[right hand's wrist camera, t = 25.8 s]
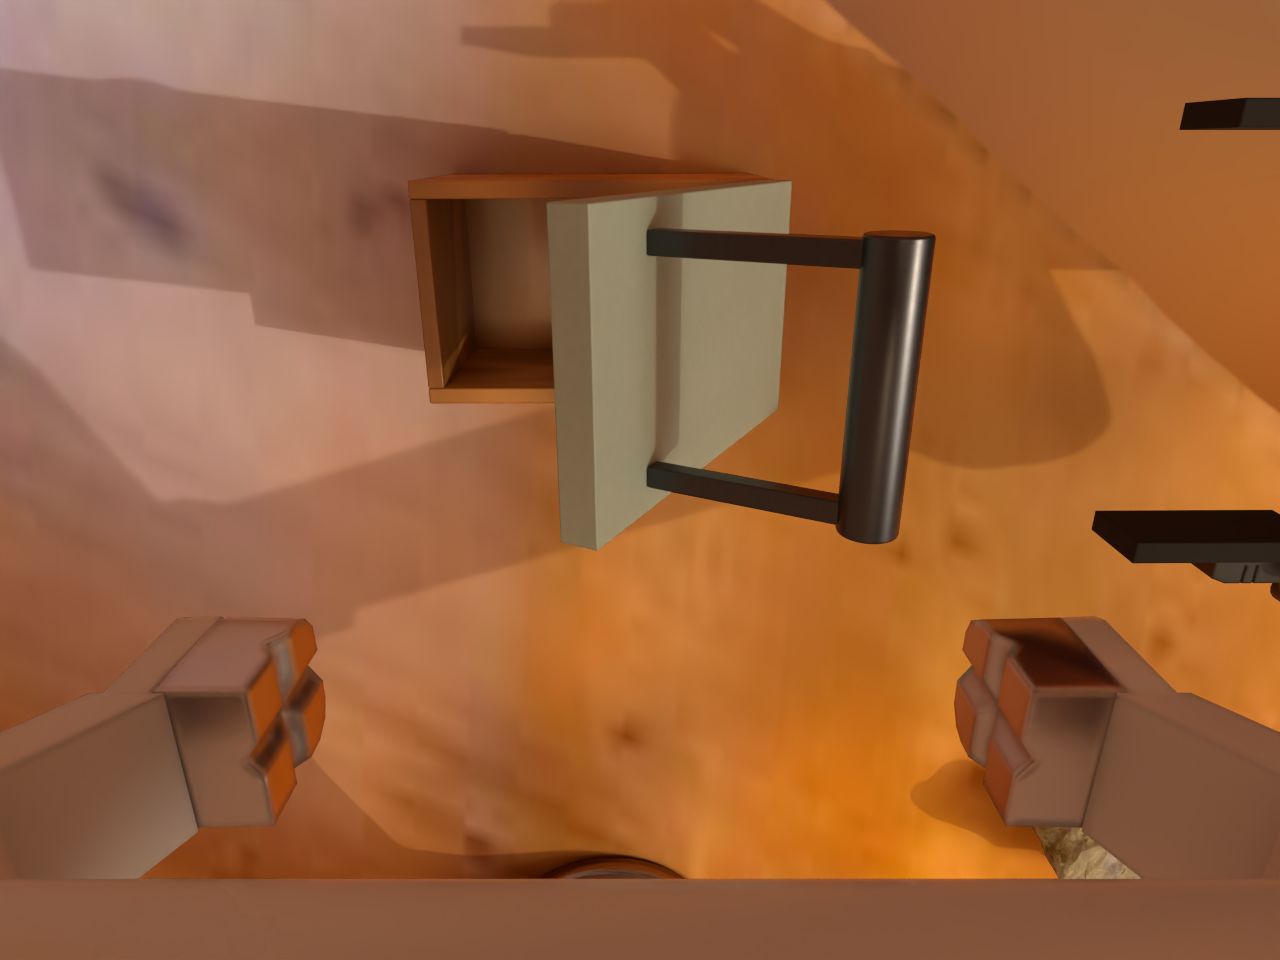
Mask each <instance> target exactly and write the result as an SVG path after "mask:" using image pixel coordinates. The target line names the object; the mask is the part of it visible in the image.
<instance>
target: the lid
mask: <svg viewBox="0 0 1280 960" xmlns="http://www.w3.org/2000/svg"><path fill="white" fill-rule="evenodd" d="M791 189H792V181H791V180H759V181H749V182H739V183H729V184H720V185H710V186H700V187H690V188H680V189H670V190H661V191H651V192H641V193H631V194H621V195H612V196H602V197H592V198H582V199H572V200H563V201H553V202H547V204H546V207H547V230H548V253H549V276H550V299H551V323H552V346H553V369H554V392H555V415H556V438H557V462H558V485H559V508H560V531H561V542H563V543H567V544H571V545H575V546H579V547H583V548H587V549H592V550H596V551H597V550H599V549H600V548H602V547H603V546H604V545H605V544H607V543H608V542H609V541H610V540H612V539H613V538H614V537H616V536H617V535H618V534H619V533H621V532H622V531H623V530H625V529H626V528H627V527H628V526H630V525H631V524H632V523H633V522H635V521H636V520H637V519H639V518H640V517H641V516H642V515H644V514H645V513H646V512H647V511H649V510H650V509H651V508H653V507H654V506H655V505H656V504H658V503H659V502H660V501H661V500H663V499H664V498H665V497H667V496H668V495H669V494H670V493H672V492H674V493H679V494H684V495H689V496H694V497H699V498H704V499H709V500H714V501H719V502H724V503H729V504H734V505H739V506H744V507H749V508H754V509H759V510H764V511H769V512H774V513H780V514H785V515H790V516H795V517H800V518H805V519H810V520H815V521H820V522H825V523H830V524H835V525H836V530H837V532H838V533H839V534H840V535H841V536H843V537H845V538H847V539H849V540H852V541H855V542H859V543H865V544H883V543H888V542H891V541H893V540H894V539H896V538H897V536H898V534H899V527H900V519H901V511H902V503H903V495H904V487H905V479H906V471H907V463H908V455H909V447H910V439H911V431H912V423H913V415H914V407H915V399H916V391H917V383H918V375H919V367H920V359H921V351H922V343H923V335H924V327H925V319H926V311H927V303H928V295H929V287H930V279H931V271H932V263H933V255H934V247H935V239H936V237H935V235H934V234H931V233H926V232H917V231H871V232H866V233H864V235H863V237H849V236H826V235H804V234H789V222H790V206H791ZM787 264H789V265H805V266H821V267H838V268H854V269H860V271H859V282H858V293H857V303H856V314H855V325H854V336H853V346H852V357H851V368H850V378H849V389H848V400H847V411H846V421H845V432H844V443H843V453H842V464H841V475H840V485H839V494H836V493H830V492H825V491H819V490H814V489H808V488H803V487H797V486H792V485H786V484H781V483H775V482H770V481H764V480H759V479H753V478H748V477H742V476H737V475H731V474H726V473H720V472H715V471H709V470H704V469H702V468H704V467H705V466H706V465H707V464H709V463H710V462H711V461H712V460H714V459H715V458H716V457H718V456H719V455H720V454H721V453H723V452H724V451H725V450H726V449H728V448H729V447H730V446H732V445H733V444H734V443H735V442H737V441H738V440H739V439H740V438H742V437H743V436H744V435H746V434H747V433H748V432H749V431H751V430H752V429H753V428H754V427H756V426H757V425H758V424H760V423H761V422H762V421H763V420H765V419H766V418H767V417H769V416H770V415H771V414H772V413H774V412H775V411H776V410H777V409H778V402H779V385H780V369H781V353H782V336H783V320H784V304H785V287H786V271H787Z"/></svg>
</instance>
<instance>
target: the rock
mask: <svg viewBox="0 0 1280 960" xmlns="http://www.w3.org/2000/svg"><path fill="white" fill-rule="evenodd" d="M1032 827H1033V829H1034V831H1035V832H1036V834H1037V835H1038V837H1039V839H1040V841H1041V844H1042V847H1043V849H1044V852H1045V855H1046V857H1047V859H1048V861H1049V863H1050V864H1051V866H1052V868H1053V869H1054V871H1055V873H1056V874H1057V876H1058V878H1059V879H1142V878H1141V877H1139V876H1138V875H1137V874H1135V873H1134V872H1133V871H1132V870H1130V869H1129V868H1128V867H1127V866H1125V865H1124V864H1123V863H1121V862H1120V861H1119V860H1118V859H1116V858H1115V857H1114V856H1113V855H1111V854H1110V853H1109V852H1107V851H1106V850H1105V849H1104V848H1102V847H1101V846H1100V845H1098V844H1097V843H1096V842H1095V841H1093V840H1092V839H1091V838H1090V837H1088V836H1087V835H1086V834H1084V833H1083V832H1082V831H1081V830H1082V828H1073V827H1036V826H1032Z"/></svg>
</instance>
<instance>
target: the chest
mask: <svg viewBox="0 0 1280 960" xmlns="http://www.w3.org/2000/svg"><path fill="white" fill-rule="evenodd" d="M759 180H772V179H768V178H764V177H761V176H757V175H753V174H749V173H648V174H451V175H444V176H438V177H431V178H425V179H418V180H411V181H408V190H409V198H410V199H411V200H410V209H411V219H412V229H413V238H414V248H415V258H416V268H417V278H418V288H419V298H420V307H421V317H422V327H423V337H424V347H425V357H426V367H427V376H428V386H429V388H430V389H429V396H430V403H555V392H554V369H553V346H552V323H551V299H550V276H549V253H548V230H547V207H546V204H547V202H553V201H563V200H572V199H582V198H592V197H602V196H612V195H621V194H631V193H641V192H651V191H661V190H670V189H680V188H690V187H700V186H710V185H720V184H729V183H739V182H749V181H759Z"/></svg>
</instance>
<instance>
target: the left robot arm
mask: <svg viewBox="0 0 1280 960" xmlns="http://www.w3.org/2000/svg"><path fill="white" fill-rule="evenodd" d="M1180 130H1280V98H1239V99H1227V100H1216V101H1204V102H1193V103H1185V107H1184V112H1183V116H1182V121H1181V125H1180ZM1092 530H1093V531H1094V532H1095V533H1097V534H1098V535H1099V536H1100V537H1101V538H1103V539H1104V540H1105V541H1106V542H1107V543H1109V544H1110V545H1111V546H1112V547H1114V548H1115V549H1116V550H1117V551H1118V552H1120V553H1121V554H1122V555H1123V556H1125V557H1126V558H1127V559H1128V560H1129V561H1131V562H1132V563H1192V564H1193V565H1194V566H1196V567H1197V568H1198V569H1200V570H1201V571H1202V572H1204V573H1205V574H1207V575H1208V576H1209V577H1211V578H1212V579H1215V580H1217V581H1220V582H1222V583H1239V582H1240V583H1251V582H1252V583H1272V585H1271V588H1270V593H1271V594H1272V596H1273V597H1274V598H1275V599H1277V600H1278V601H1280V514H1278V513H1277V512H1275V511H1273V510H1176V511H1096V512H1095V516H1094V521H1093V526H1092ZM541 879H684V878H683V877H682V876H680V875H678V874H676V873H675V872H673V871H671V870H668V869H666V868H664V867H661V866H659V865H656V864H653V863H649V862H645V861H641V860H635V859H627V858H598V859H590V860H585V861H580V862H576V863H573V864H570V865H567V866H564V867H561V868H559V869H557V870H555V871H553V872H551V873H549V874H548V875H546V876H544V877H543V878H541Z"/></svg>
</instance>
